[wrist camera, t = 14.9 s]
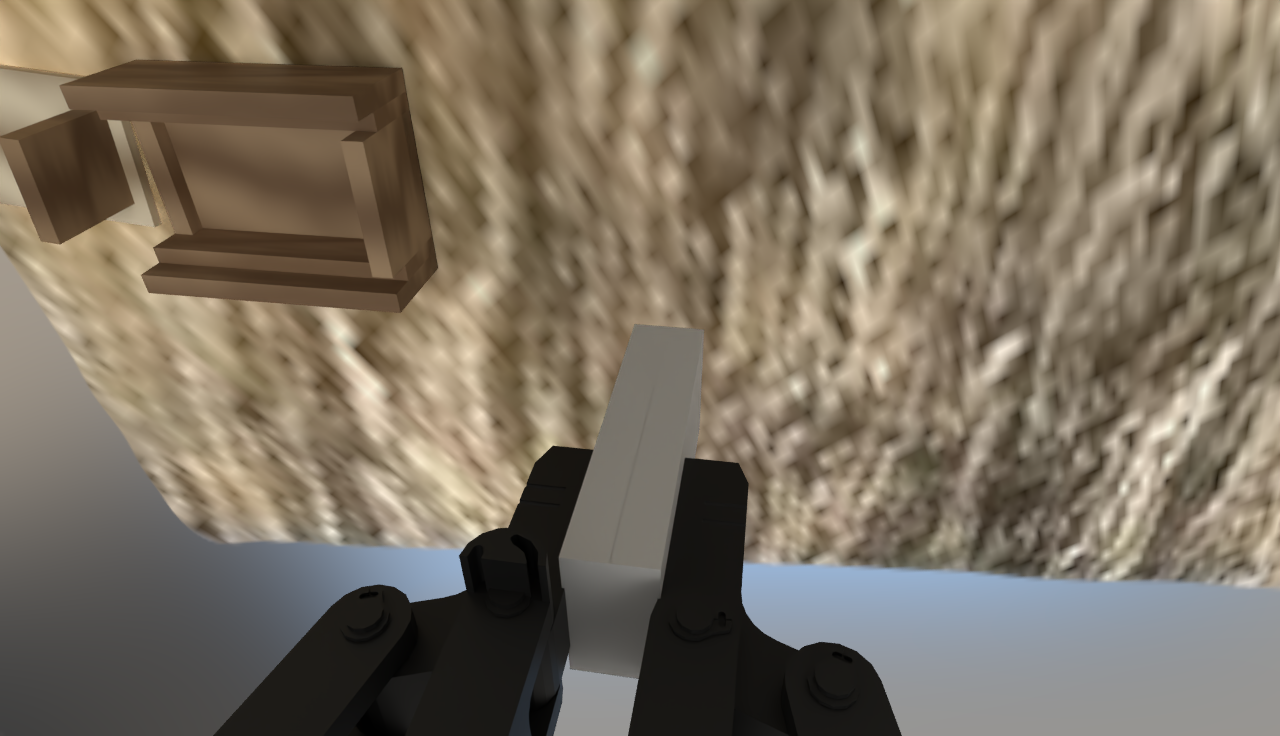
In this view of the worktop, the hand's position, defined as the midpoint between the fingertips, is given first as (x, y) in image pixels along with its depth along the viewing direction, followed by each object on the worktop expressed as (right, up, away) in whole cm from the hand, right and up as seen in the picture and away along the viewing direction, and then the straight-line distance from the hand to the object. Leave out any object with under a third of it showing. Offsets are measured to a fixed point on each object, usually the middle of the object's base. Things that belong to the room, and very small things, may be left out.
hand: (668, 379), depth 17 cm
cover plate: (-38, +15, +31) cm, 51 cm away
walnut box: (-21, +12, +28) cm, 38 cm away
